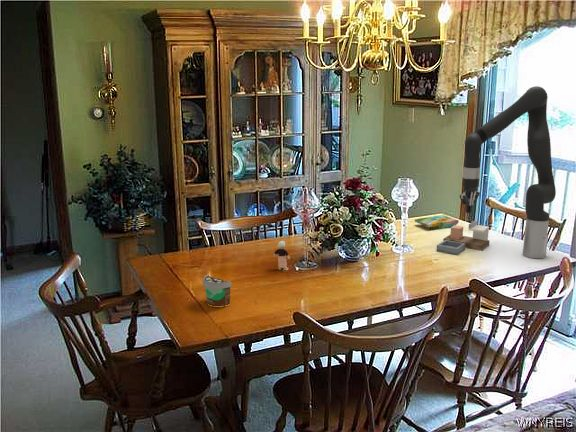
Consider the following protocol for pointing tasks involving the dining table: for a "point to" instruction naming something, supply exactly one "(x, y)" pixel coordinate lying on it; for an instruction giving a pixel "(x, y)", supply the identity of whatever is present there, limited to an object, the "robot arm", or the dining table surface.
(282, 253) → the grandmother figurine
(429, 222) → the puzzle game
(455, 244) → the tray
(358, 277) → the dining table surface
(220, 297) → the food container
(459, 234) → the block
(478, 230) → the light grey blocky form
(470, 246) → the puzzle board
